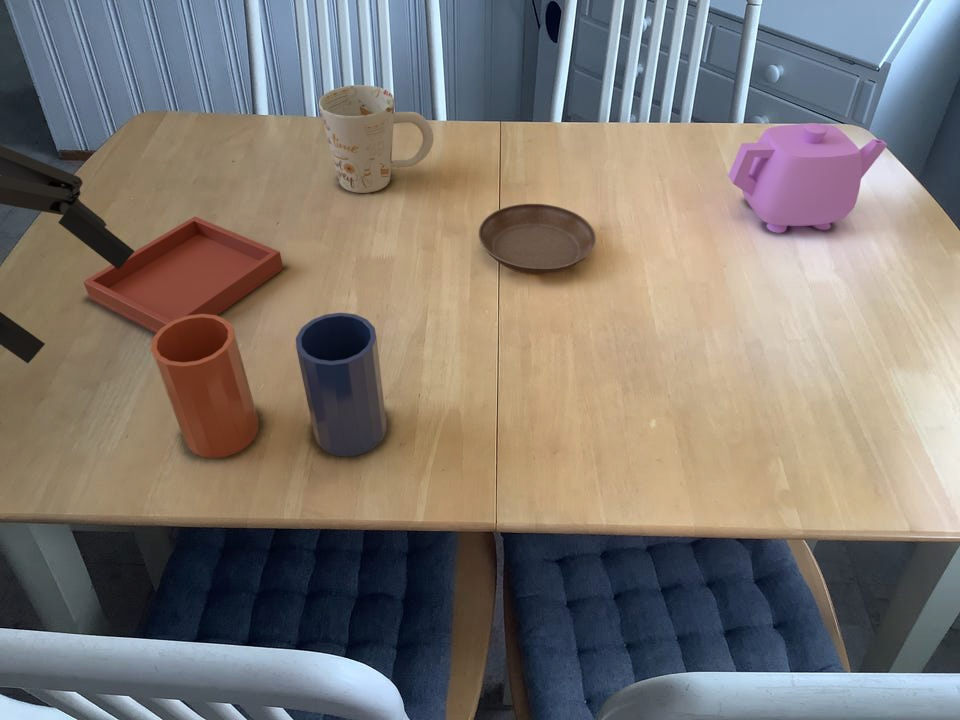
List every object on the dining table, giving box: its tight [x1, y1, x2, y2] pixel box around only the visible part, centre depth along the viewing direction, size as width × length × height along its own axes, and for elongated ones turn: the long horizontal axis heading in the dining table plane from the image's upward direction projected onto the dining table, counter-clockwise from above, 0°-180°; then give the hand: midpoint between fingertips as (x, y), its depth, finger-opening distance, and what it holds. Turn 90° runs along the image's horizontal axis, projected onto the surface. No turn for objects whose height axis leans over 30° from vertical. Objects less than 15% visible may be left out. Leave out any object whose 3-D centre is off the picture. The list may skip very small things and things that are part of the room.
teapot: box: [727, 122, 888, 234], centre depth 102 cm, size 20×12×13 cm, turn 97°
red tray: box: [82, 216, 284, 334], centre depth 94 cm, size 17×15×3 cm
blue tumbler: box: [295, 312, 387, 457], centre depth 73 cm, size 7×7×12 cm
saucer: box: [478, 203, 597, 276], centre depth 99 cm, size 15×15×3 cm
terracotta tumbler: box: [150, 314, 260, 459], centre depth 73 cm, size 7×7×12 cm
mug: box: [318, 84, 434, 194], centre depth 109 cm, size 10×15×12 cm, turn 101°
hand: (85, 304), depth 69 cm, fingers open, 13 cm apart
